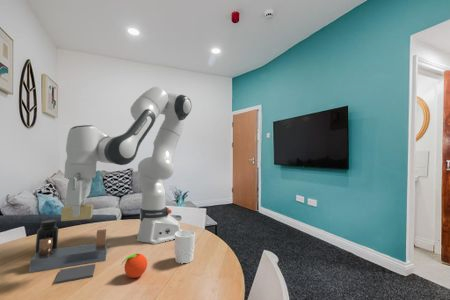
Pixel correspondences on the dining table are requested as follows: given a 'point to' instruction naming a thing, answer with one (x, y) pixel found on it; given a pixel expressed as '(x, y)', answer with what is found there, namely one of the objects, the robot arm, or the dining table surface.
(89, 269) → the mat
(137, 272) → the clementine
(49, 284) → the dining table surface
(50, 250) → the body
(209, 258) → the dining table surface
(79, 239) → the dining table surface
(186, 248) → the white cup
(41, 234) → the supplement bottle
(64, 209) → the lever cap
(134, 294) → the dining table surface
